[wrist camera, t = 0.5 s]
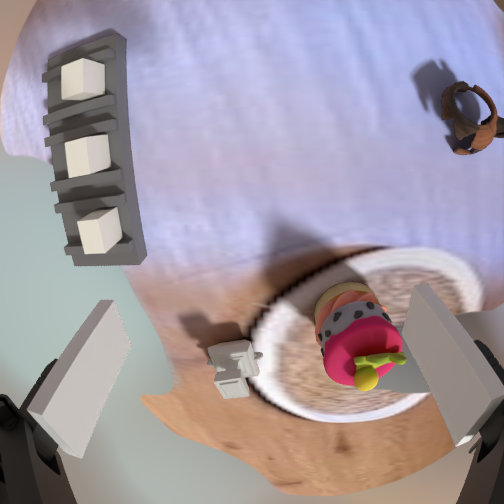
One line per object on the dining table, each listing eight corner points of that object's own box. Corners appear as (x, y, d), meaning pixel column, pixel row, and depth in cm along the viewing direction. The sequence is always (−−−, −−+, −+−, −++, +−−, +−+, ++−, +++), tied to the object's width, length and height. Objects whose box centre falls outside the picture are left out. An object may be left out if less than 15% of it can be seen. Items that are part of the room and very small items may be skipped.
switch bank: (59, 62, 28) (40, 59, 24) (126, 38, 27) (110, 30, 23) (83, 257, 40) (68, 270, 36) (147, 255, 39) (135, 270, 35)
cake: (372, 333, 44) (402, 403, 30) (309, 339, 44) (324, 416, 31) (383, 277, 40) (427, 343, 26) (313, 281, 40) (335, 357, 26)
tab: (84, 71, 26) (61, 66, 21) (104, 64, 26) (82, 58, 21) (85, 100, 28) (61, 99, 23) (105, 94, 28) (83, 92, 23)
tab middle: (87, 139, 30) (64, 142, 25) (107, 134, 30) (85, 137, 25) (91, 170, 31) (69, 178, 27) (111, 166, 31) (90, 174, 27)
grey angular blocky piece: (258, 329, 44) (257, 369, 36) (267, 359, 46) (267, 398, 39) (202, 338, 45) (192, 376, 37) (215, 366, 47) (208, 404, 40)
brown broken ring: (436, 159, 33) (453, 135, 25) (423, 100, 33) (434, 70, 26) (502, 164, 29) (528, 145, 21) (488, 108, 30) (507, 82, 22)
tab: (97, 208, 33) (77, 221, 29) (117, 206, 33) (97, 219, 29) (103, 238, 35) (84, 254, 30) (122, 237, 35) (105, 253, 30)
